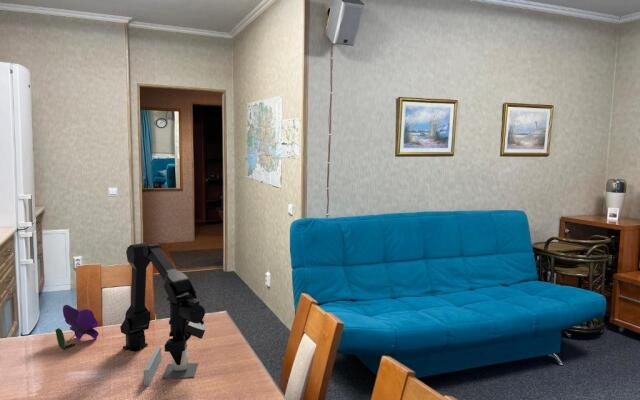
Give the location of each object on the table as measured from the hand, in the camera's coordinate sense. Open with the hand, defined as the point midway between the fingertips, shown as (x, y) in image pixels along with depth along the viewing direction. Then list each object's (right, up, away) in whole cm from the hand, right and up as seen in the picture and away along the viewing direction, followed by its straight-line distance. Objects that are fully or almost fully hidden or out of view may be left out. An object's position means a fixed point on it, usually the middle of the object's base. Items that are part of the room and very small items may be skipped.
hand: (180, 361), depth 164 cm
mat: (0, -3, 0) cm, 4 cm away
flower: (-45, -1, +21) cm, 50 cm away
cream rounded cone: (0, -2, 0) cm, 2 cm away
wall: (-9, -4, -1) cm, 9 cm away
